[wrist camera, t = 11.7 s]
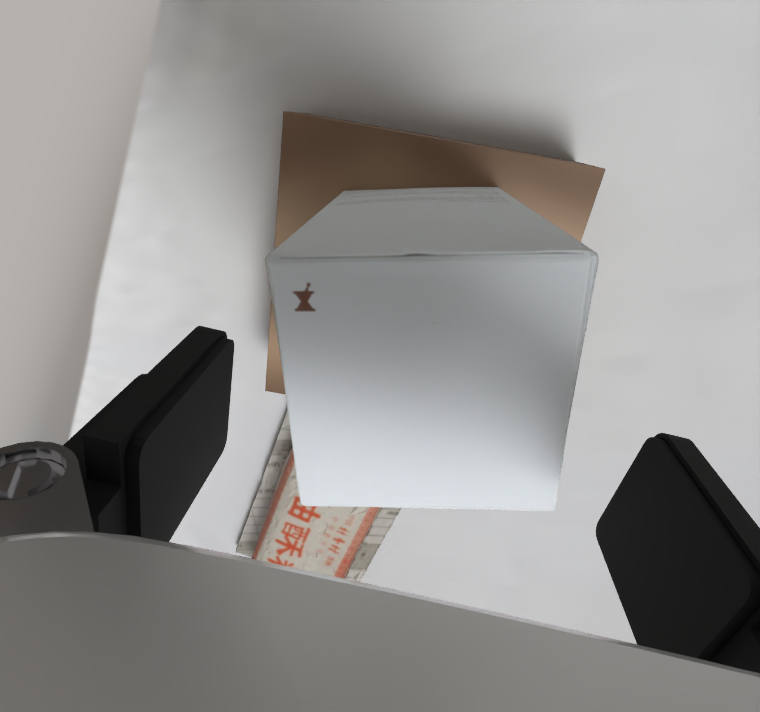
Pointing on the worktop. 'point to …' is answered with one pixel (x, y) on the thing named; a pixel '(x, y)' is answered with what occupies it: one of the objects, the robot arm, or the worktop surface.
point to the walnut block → (412, 179)
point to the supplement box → (430, 349)
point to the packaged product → (309, 524)
